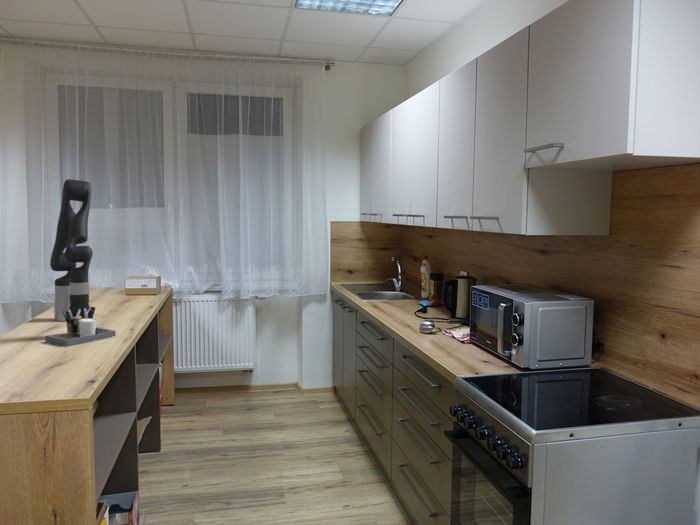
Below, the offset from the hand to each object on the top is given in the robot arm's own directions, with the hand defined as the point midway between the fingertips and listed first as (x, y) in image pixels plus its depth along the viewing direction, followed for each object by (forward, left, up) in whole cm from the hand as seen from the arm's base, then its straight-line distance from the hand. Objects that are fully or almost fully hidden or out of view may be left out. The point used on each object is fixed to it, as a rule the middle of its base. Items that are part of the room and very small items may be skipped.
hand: (79, 331), depth 229 cm
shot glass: (+5, 0, -1) cm, 5 cm away
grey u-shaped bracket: (+7, -4, -1) cm, 8 cm away
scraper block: (-2, 0, -1) cm, 2 cm away
